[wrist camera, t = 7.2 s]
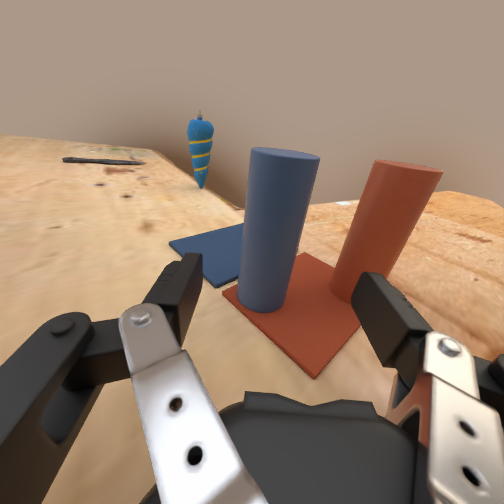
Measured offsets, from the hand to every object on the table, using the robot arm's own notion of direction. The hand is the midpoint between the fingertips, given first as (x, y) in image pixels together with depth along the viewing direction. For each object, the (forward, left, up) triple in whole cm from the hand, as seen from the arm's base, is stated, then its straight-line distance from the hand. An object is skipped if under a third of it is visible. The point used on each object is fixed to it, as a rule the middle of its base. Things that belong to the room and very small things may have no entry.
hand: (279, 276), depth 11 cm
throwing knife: (-70, +8, -7) cm, 70 cm away
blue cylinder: (-5, +4, -7) cm, 9 cm away
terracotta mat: (-2, +8, -7) cm, 11 cm away
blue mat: (-13, +8, -7) cm, 17 cm away
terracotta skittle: (0, +12, -7) cm, 14 cm away
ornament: (-38, +19, -7) cm, 43 cm away
